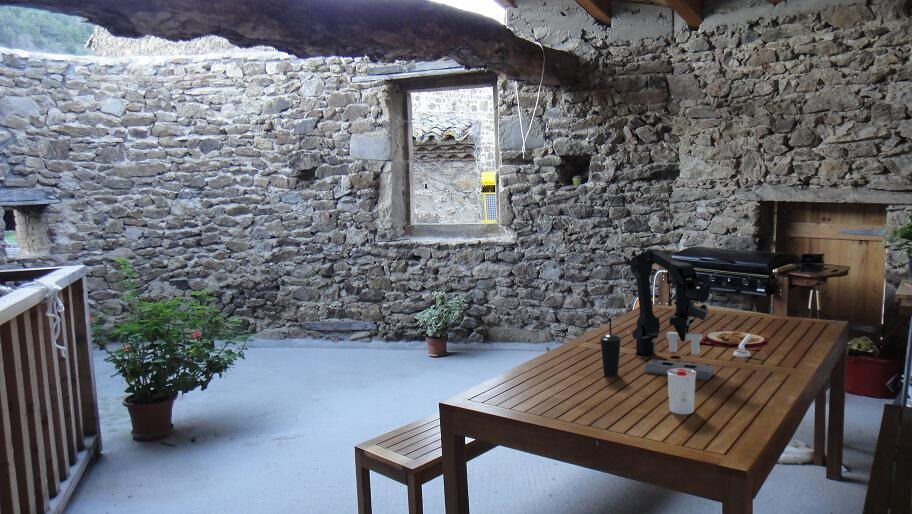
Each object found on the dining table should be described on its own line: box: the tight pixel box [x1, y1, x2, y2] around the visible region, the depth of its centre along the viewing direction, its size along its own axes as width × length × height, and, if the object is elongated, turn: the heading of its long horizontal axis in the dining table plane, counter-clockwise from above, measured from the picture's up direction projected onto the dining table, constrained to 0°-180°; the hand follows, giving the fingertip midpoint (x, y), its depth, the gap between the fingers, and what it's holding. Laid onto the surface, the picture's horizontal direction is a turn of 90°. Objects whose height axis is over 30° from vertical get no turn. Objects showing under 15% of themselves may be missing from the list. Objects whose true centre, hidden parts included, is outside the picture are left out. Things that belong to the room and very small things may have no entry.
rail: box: [644, 358, 714, 381], centre depth 240 cm, size 22×8×3 cm, turn 57°
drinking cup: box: [599, 319, 622, 377], centre depth 241 cm, size 8×8×20 cm
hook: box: [733, 334, 751, 358], centre depth 261 cm, size 6×10×6 cm
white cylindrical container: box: [667, 368, 696, 415], centre depth 201 cm, size 10×8×12 cm
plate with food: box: [699, 325, 770, 351], centre depth 284 cm, size 25×26×4 cm
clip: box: [666, 331, 703, 355], centre depth 247 cm, size 12×3×7 cm, turn 58°
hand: (683, 340), depth 246 cm, fingers closed on clip, 3 cm apart
